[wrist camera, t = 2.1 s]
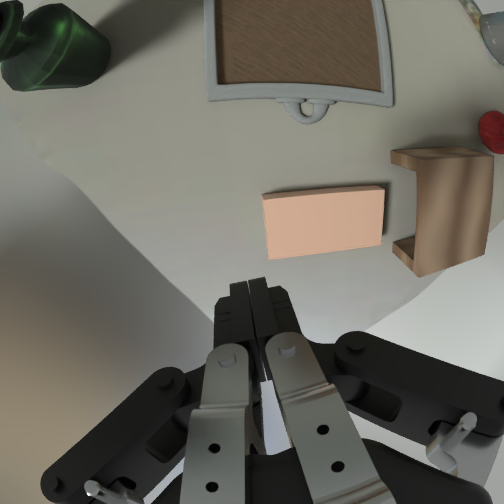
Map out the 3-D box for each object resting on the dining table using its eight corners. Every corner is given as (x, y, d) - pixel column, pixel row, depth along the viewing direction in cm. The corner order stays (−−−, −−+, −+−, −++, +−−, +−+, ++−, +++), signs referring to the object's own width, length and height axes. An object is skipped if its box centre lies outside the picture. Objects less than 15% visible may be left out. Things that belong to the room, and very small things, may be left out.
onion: (478, 156, 26) (518, 170, 19) (462, 123, 24) (506, 131, 17) (494, 133, 24) (533, 144, 17) (479, 101, 23) (520, 106, 15)
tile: (374, 184, 28) (384, 189, 26) (371, 236, 31) (380, 244, 29) (261, 193, 28) (263, 199, 26) (266, 249, 31) (269, 259, 29)
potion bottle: (46, 81, 19) (-74, 84, 3) (83, 21, 17) (-22, -23, 1) (91, 105, 22) (-42, 112, 6) (133, 39, 19) (28, -26, 3)
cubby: (459, 146, 26) (493, 156, 20) (456, 234, 31) (484, 254, 26) (390, 150, 26) (424, 160, 20) (392, 252, 32) (418, 277, 26)
